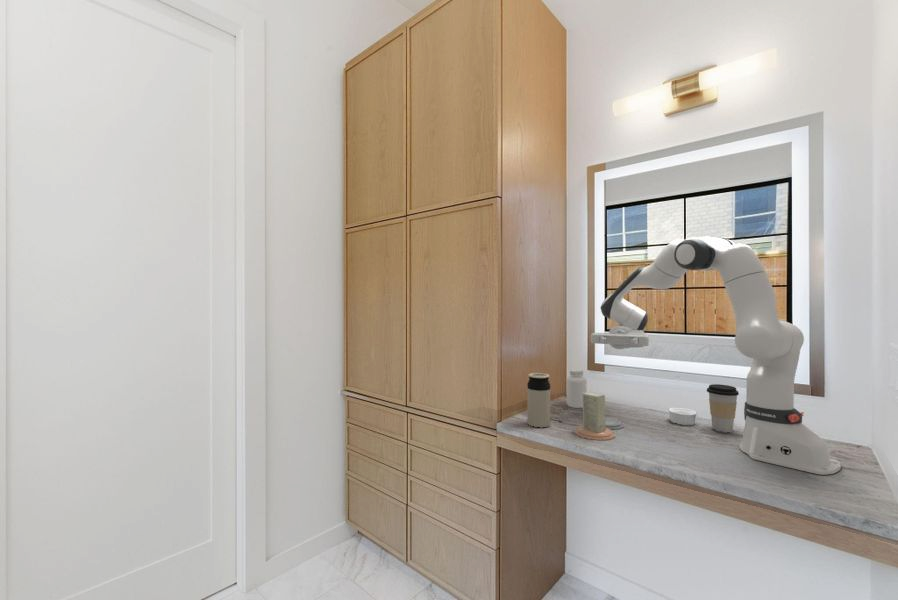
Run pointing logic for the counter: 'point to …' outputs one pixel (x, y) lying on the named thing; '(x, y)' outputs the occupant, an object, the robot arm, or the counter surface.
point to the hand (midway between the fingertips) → (618, 341)
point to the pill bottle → (576, 388)
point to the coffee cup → (722, 406)
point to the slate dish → (613, 423)
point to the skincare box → (594, 412)
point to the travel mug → (538, 400)
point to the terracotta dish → (594, 434)
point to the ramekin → (682, 416)
